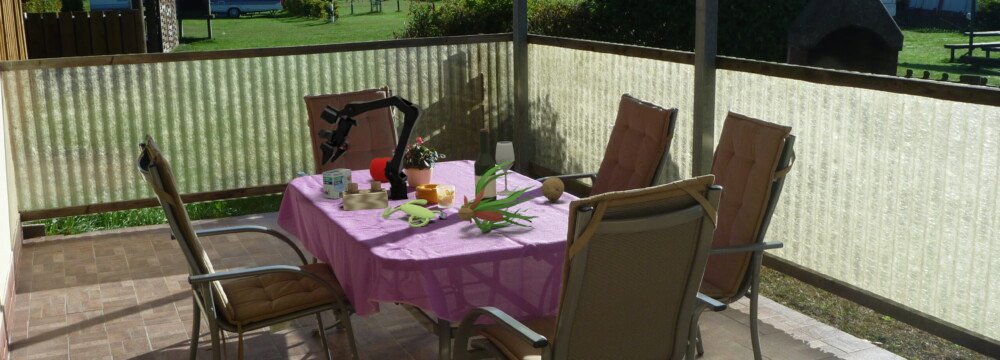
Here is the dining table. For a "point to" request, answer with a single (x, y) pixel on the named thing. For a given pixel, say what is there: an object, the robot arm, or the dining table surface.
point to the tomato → (378, 168)
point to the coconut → (552, 189)
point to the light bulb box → (336, 182)
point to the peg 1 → (352, 187)
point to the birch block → (365, 199)
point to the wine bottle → (485, 167)
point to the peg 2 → (375, 186)
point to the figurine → (416, 212)
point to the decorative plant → (492, 204)
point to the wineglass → (504, 160)
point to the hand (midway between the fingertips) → (327, 163)
